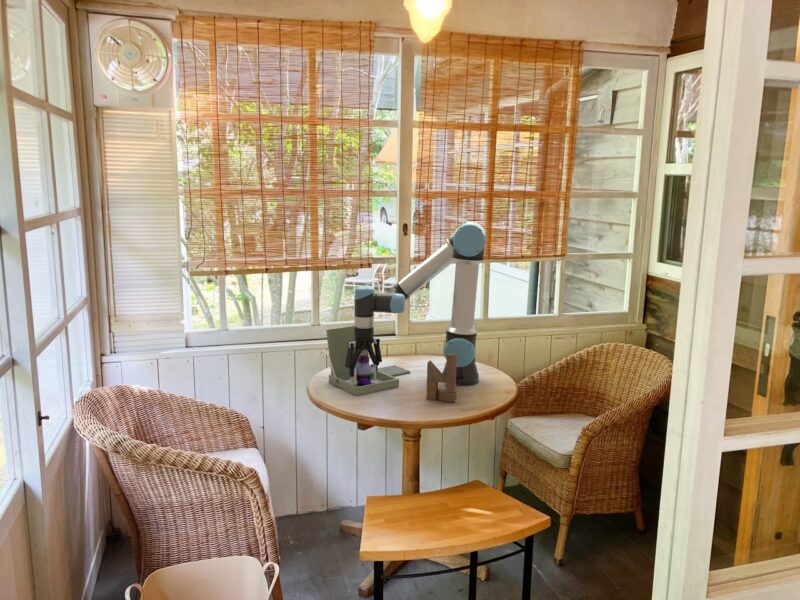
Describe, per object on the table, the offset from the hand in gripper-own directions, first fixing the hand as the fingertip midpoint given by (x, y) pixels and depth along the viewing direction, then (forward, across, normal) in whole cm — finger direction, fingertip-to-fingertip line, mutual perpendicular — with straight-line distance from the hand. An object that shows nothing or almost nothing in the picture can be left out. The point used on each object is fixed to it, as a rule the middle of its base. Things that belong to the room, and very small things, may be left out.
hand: (363, 382), depth 248 cm
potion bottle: (+1, 0, 0) cm, 1 cm away
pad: (+1, -19, -7) cm, 20 cm away
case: (+1, 0, -2) cm, 2 cm away
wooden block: (+1, -14, +31) cm, 34 cm away
